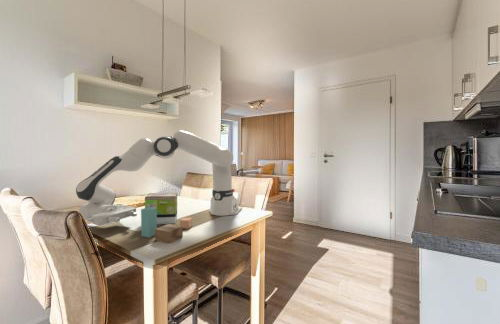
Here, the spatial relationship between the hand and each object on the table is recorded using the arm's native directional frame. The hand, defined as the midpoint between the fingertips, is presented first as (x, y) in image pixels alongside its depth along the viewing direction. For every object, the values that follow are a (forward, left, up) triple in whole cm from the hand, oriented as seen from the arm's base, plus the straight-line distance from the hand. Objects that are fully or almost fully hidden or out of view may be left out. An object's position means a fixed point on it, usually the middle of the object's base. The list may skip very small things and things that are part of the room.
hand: (127, 217), depth 114 cm
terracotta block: (-16, +21, -7) cm, 27 cm away
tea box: (-18, +4, -7) cm, 20 cm away
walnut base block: (0, +24, -7) cm, 25 cm away
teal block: (0, +13, -7) cm, 15 cm away
